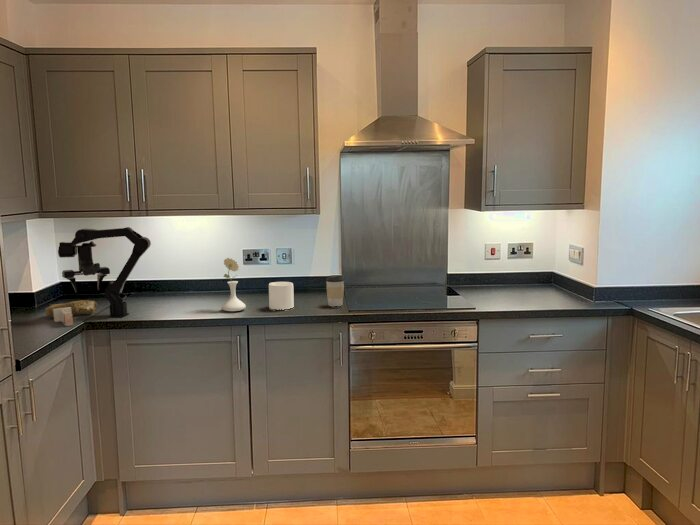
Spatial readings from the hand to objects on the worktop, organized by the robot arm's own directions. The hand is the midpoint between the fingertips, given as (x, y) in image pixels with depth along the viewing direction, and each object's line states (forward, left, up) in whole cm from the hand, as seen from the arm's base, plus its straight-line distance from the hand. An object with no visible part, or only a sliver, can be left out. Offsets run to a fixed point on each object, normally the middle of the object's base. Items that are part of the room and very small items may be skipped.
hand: (87, 291), depth 248 cm
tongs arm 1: (+3, +13, -12) cm, 18 cm away
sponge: (+10, -3, -12) cm, 16 cm away
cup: (-82, -28, -12) cm, 87 cm away
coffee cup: (-107, -36, -12) cm, 114 cm away
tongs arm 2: (+2, +12, -12) cm, 17 cm away
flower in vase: (-60, -21, -12) cm, 65 cm away
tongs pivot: (+8, +7, -12) cm, 16 cm away
